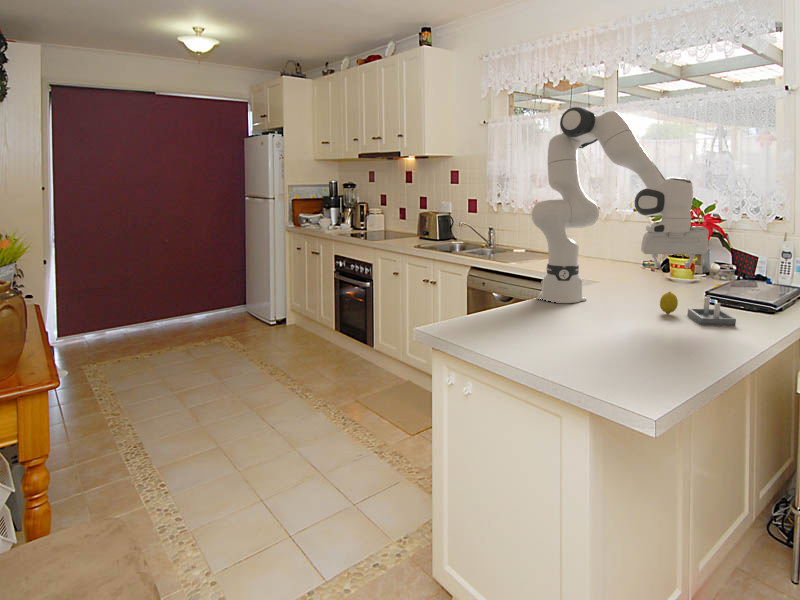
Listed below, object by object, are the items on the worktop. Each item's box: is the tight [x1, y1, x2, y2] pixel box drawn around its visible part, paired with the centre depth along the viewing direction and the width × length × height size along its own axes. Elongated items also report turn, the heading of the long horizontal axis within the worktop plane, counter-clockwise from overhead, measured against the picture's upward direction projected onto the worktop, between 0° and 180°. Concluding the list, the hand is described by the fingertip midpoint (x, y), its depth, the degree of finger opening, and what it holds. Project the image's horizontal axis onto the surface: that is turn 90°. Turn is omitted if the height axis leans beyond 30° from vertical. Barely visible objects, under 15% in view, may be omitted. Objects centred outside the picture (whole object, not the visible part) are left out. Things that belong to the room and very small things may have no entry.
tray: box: [686, 296, 737, 327], centre depth 181 cm, size 14×10×7 cm
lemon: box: [659, 291, 679, 315], centre depth 191 cm, size 6×6×8 cm
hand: (672, 267), depth 188 cm, fingers open, 8 cm apart
